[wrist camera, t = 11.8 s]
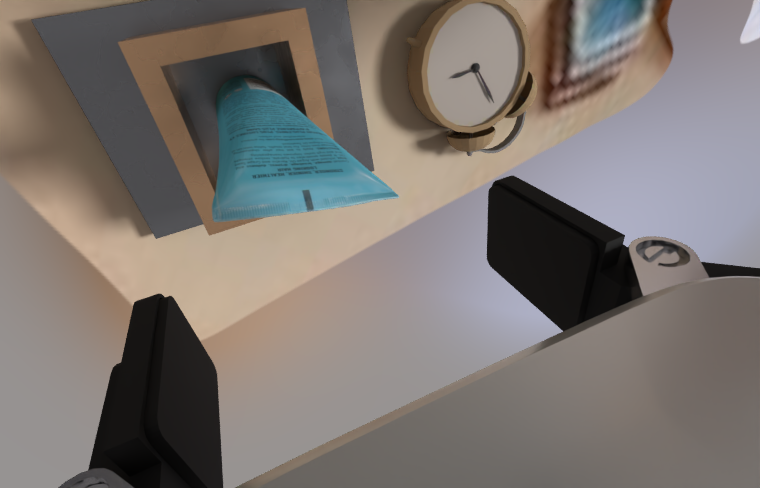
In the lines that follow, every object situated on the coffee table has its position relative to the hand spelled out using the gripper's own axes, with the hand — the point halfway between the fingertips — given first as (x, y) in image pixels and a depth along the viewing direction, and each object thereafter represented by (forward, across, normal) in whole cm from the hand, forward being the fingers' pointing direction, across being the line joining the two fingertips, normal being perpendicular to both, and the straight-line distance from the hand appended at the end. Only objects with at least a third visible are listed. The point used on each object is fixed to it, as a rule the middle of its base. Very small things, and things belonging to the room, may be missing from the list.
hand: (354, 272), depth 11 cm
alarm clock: (+26, -20, +3) cm, 33 cm away
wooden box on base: (+25, +1, 0) cm, 25 cm away
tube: (+24, 0, 0) cm, 24 cm away
